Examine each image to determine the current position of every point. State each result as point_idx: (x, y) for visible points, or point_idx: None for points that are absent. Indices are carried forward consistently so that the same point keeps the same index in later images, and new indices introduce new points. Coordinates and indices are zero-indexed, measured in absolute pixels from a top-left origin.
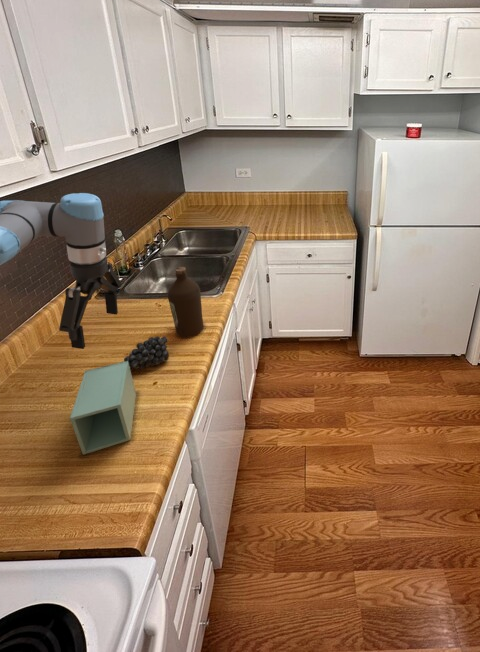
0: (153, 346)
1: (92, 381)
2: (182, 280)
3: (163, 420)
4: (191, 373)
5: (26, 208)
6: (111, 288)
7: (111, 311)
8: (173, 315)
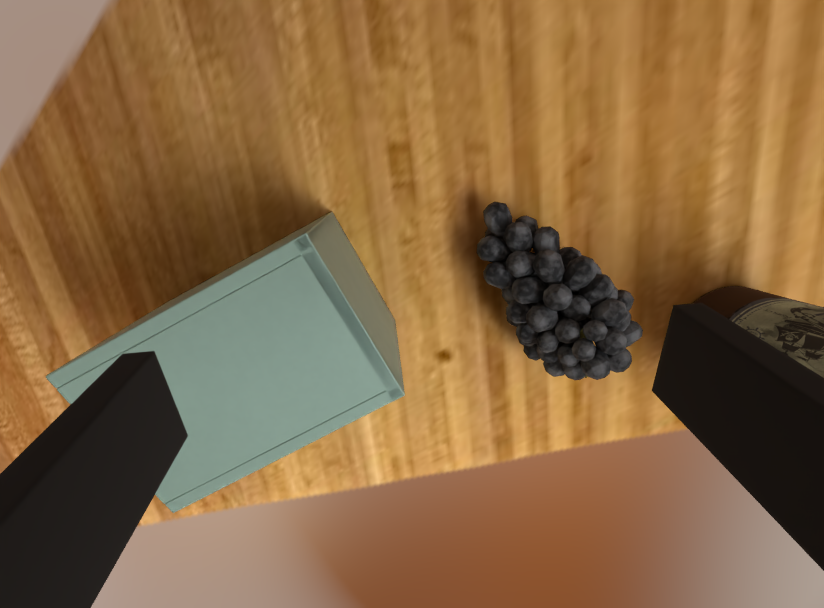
0: (570, 342)
1: (250, 323)
2: None
3: (316, 450)
4: (493, 442)
5: None
6: None
7: (682, 369)
8: (776, 348)
